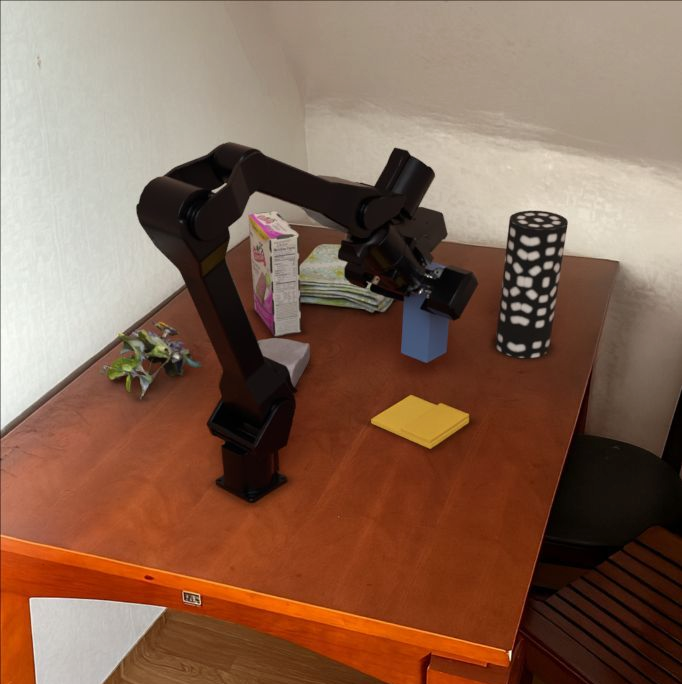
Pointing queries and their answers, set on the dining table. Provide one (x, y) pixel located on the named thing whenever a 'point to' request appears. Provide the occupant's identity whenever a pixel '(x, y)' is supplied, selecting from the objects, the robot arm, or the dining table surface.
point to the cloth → (421, 421)
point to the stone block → (287, 355)
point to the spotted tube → (530, 283)
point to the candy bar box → (275, 272)
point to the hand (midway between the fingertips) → (432, 306)
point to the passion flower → (150, 356)
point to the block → (423, 328)
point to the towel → (335, 283)
